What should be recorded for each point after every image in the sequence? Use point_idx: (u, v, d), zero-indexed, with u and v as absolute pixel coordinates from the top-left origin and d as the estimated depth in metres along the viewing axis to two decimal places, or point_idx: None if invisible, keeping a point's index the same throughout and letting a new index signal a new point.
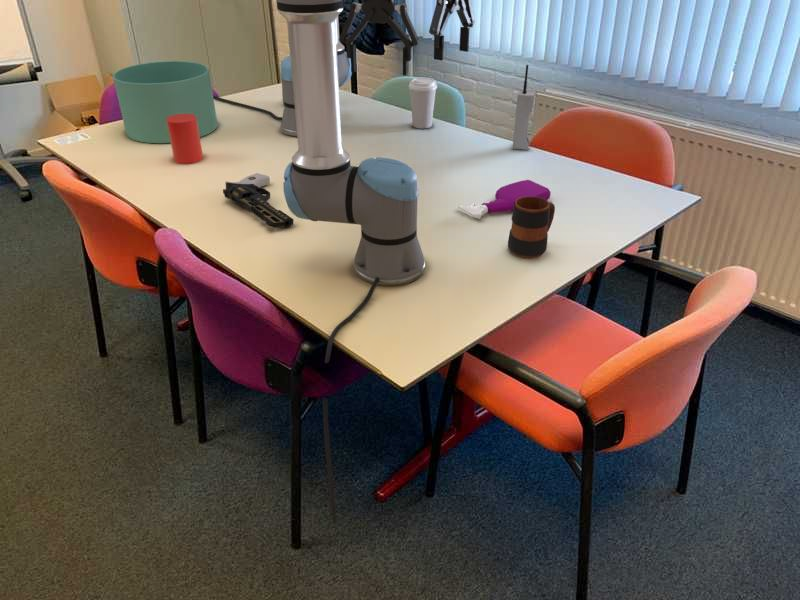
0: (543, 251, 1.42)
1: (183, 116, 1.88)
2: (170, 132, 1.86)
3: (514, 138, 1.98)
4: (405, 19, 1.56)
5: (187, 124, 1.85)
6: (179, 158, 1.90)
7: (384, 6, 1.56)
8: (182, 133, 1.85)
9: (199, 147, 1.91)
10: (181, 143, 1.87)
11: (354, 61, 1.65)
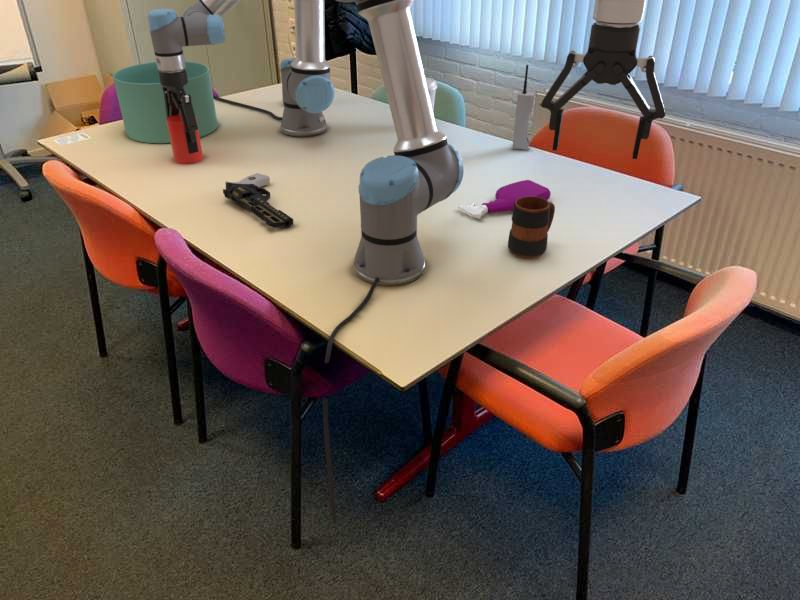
0: (543, 251, 1.42)
1: None
2: (170, 132, 1.86)
3: (514, 138, 1.98)
4: (652, 79, 1.03)
5: None
6: (179, 158, 1.90)
7: (621, 60, 1.03)
8: (182, 133, 1.85)
9: (199, 147, 1.91)
10: (181, 143, 1.87)
11: (559, 134, 1.13)
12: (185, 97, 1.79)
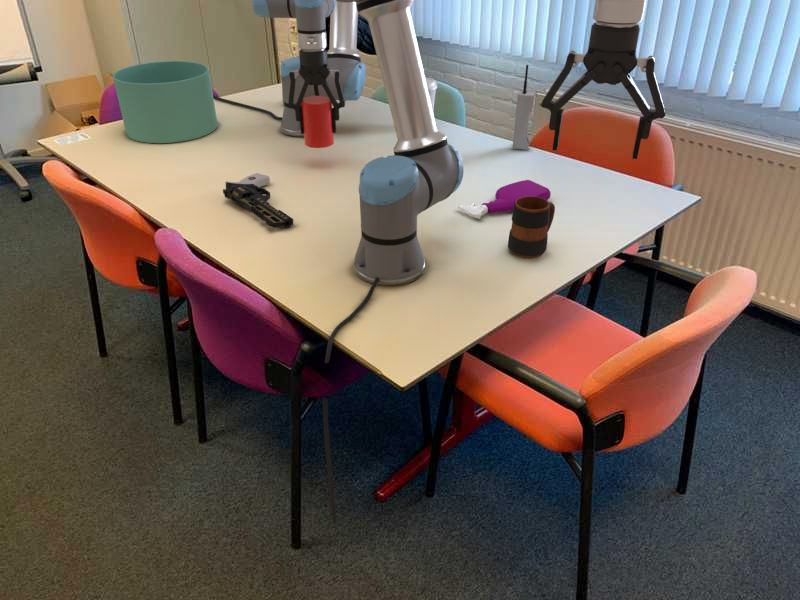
0: (543, 251, 1.42)
1: (314, 98, 1.81)
2: (318, 115, 1.78)
3: (514, 138, 1.98)
4: (652, 79, 1.03)
5: (331, 103, 1.80)
6: (326, 141, 1.83)
7: (621, 60, 1.03)
8: (330, 113, 1.80)
9: None
10: (328, 124, 1.81)
11: (559, 134, 1.13)
12: (339, 72, 1.76)
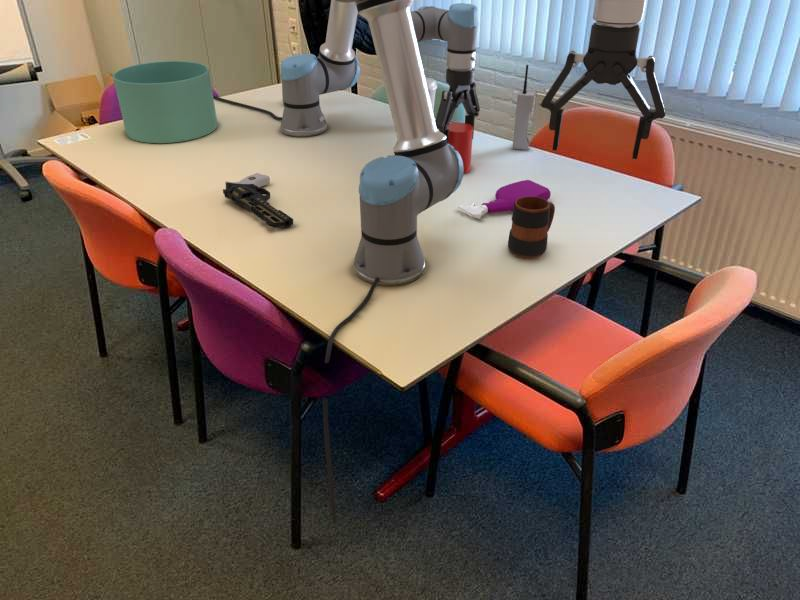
0: (543, 251, 1.42)
1: (453, 126, 1.80)
2: (470, 140, 1.80)
3: (514, 138, 1.98)
4: (652, 79, 1.03)
5: None
6: (470, 164, 1.85)
7: (621, 60, 1.03)
8: None
9: None
10: None
11: (559, 134, 1.13)
12: None
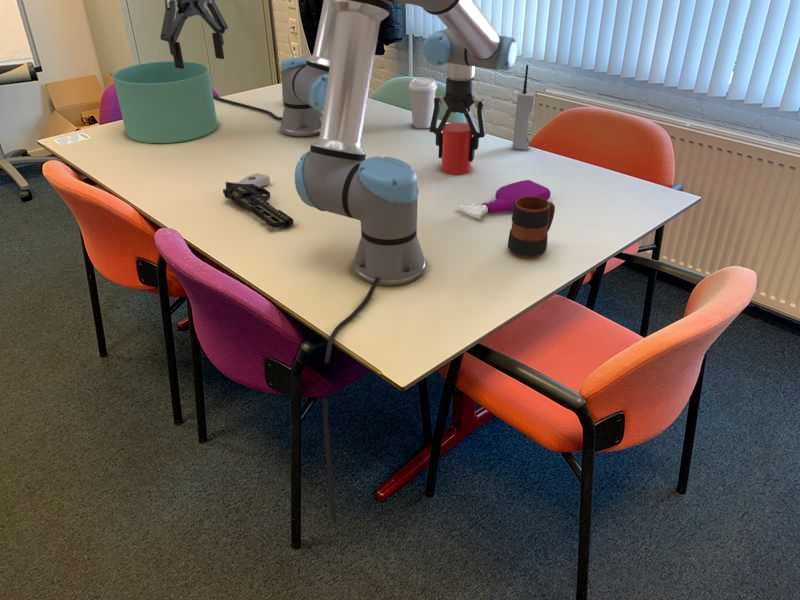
0: (543, 251, 1.42)
1: (453, 126, 1.80)
2: (470, 140, 1.80)
3: (514, 138, 1.98)
4: (480, 113, 1.75)
5: None
6: (470, 164, 1.85)
7: (464, 99, 1.74)
8: None
9: None
10: None
11: None
12: None
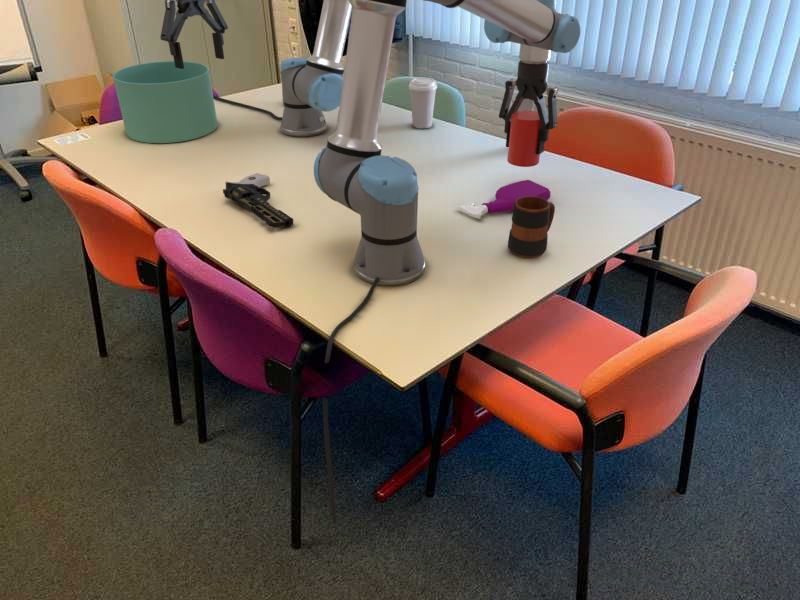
0: (543, 251, 1.42)
1: (523, 114, 1.67)
2: None
3: None
4: (550, 102, 1.60)
5: None
6: (539, 157, 1.71)
7: (536, 84, 1.60)
8: None
9: None
10: None
11: None
12: None
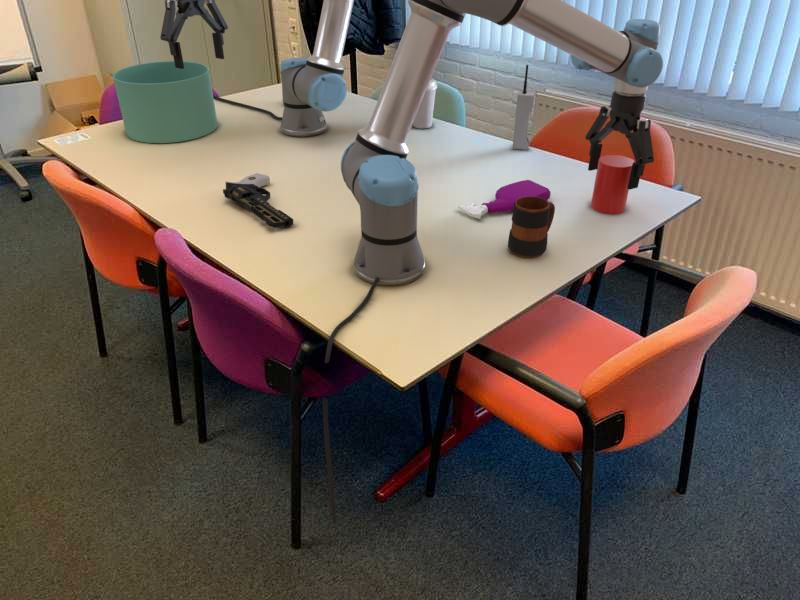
0: (543, 251, 1.42)
1: (612, 159, 1.59)
2: (623, 179, 1.57)
3: (514, 138, 1.98)
4: (641, 135, 1.48)
5: None
6: (623, 206, 1.61)
7: (627, 117, 1.50)
8: None
9: None
10: None
11: (594, 160, 1.64)
12: None
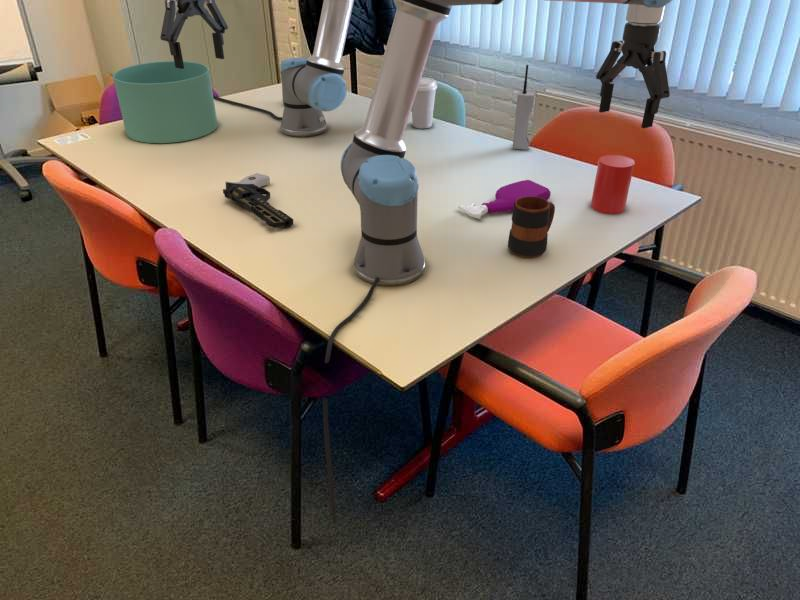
0: (543, 251, 1.42)
1: (612, 159, 1.59)
2: (623, 179, 1.57)
3: (514, 138, 1.98)
4: (656, 68, 1.40)
5: None
6: (623, 206, 1.61)
7: (640, 50, 1.42)
8: None
9: None
10: None
11: (605, 101, 1.56)
12: None
